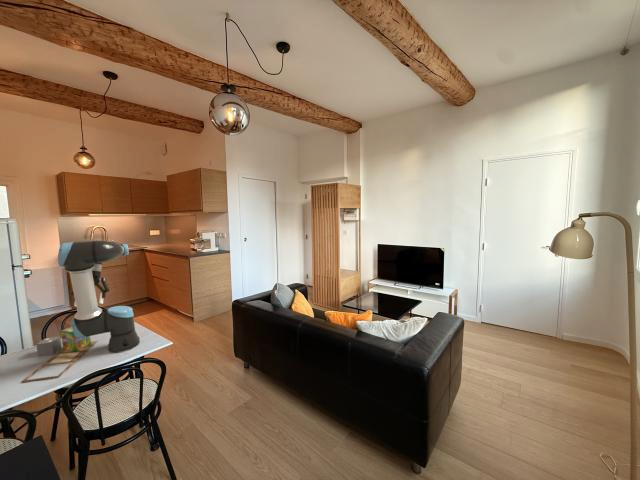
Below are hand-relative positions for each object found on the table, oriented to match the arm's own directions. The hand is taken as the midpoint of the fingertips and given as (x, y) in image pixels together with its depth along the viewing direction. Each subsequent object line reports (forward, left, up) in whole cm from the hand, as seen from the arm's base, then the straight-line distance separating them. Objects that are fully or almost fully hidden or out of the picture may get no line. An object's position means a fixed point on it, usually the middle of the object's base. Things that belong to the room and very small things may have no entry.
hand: (88, 305), depth 168 cm
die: (+8, +18, -21) cm, 29 cm away
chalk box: (-4, +13, -20) cm, 25 cm away
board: (-8, +24, -21) cm, 33 cm away
